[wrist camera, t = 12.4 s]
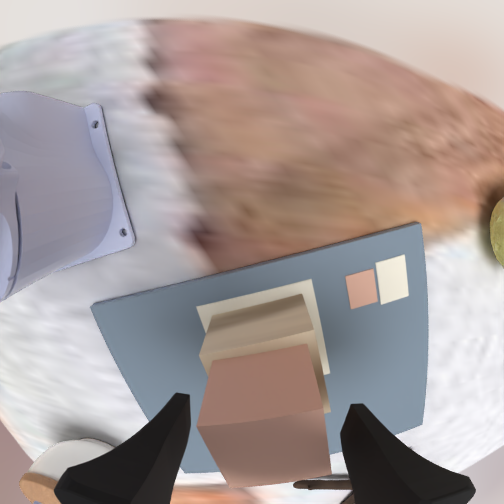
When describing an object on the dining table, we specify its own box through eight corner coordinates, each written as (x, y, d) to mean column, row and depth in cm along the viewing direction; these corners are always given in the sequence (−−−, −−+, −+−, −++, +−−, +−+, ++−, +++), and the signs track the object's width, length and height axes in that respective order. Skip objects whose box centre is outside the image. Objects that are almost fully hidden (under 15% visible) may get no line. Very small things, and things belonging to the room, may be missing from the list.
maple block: (212, 315, 18) (198, 355, 14) (302, 293, 18) (314, 329, 13) (238, 384, 20) (233, 431, 15) (318, 367, 19) (330, 412, 15)
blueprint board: (93, 303, 19) (89, 307, 18) (416, 221, 17) (421, 223, 17) (185, 468, 23) (184, 474, 23) (419, 420, 21) (422, 425, 21)
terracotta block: (212, 360, 14) (196, 426, 10) (307, 343, 14) (323, 408, 9) (236, 424, 15) (230, 488, 11) (318, 410, 15) (331, 474, 10)
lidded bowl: (180, 462, 23) (156, 558, 12) (145, 501, 26) (124, 570, 15) (61, 397, 22) (2, 476, 11) (53, 452, 25) (16, 513, 14)
